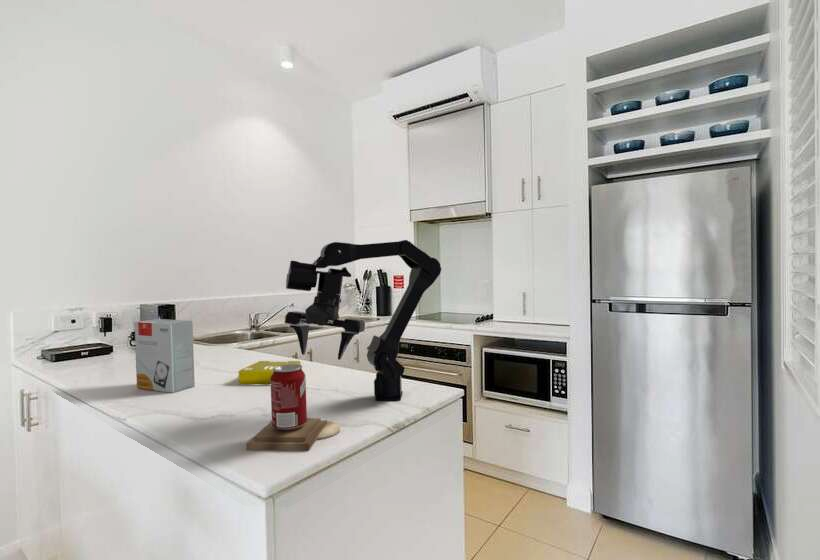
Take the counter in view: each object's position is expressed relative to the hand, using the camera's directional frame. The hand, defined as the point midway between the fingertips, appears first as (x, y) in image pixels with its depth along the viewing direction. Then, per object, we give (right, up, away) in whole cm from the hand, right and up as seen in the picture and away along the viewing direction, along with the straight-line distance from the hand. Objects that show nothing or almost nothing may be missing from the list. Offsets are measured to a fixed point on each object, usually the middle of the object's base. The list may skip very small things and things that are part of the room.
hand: (321, 356), depth 101 cm
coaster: (+3, -13, -15) cm, 20 cm away
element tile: (-22, -13, +30) cm, 39 cm away
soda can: (-2, -11, -18) cm, 21 cm away
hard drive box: (-51, -13, +22) cm, 57 cm away
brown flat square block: (-3, -13, -18) cm, 22 cm away
